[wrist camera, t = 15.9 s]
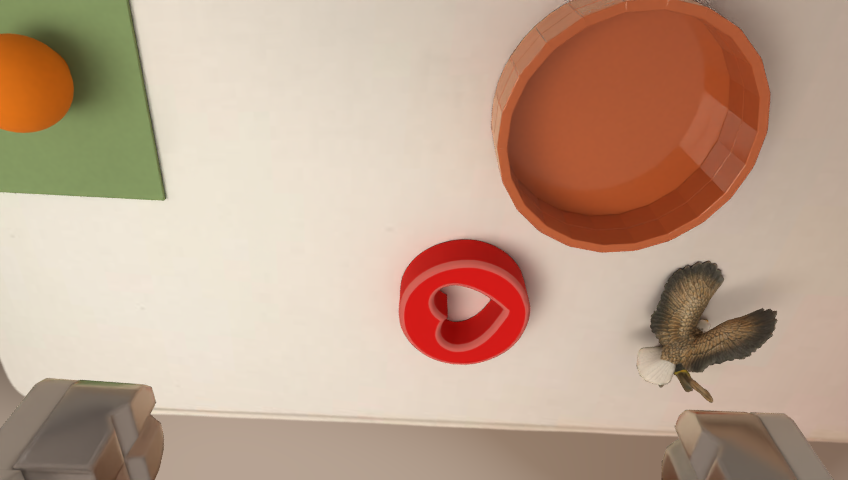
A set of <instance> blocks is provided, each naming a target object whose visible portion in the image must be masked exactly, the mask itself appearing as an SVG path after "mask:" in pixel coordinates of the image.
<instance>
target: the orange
mask: <svg viewBox="0 0 848 480" xmlns="http://www.w3.org/2000/svg"><path fill="white" fill-rule="evenodd" d="M73 96H74V86H73V80H72V76H71V73H70V69H69V67H68V65H67V63H66V61H65V60H64V59H63V58H62V57H61V56H60V55H59V54H58V53H57V52H55V51H54V50H52V49H51V48H50V47H48V46H47V45H46V44H44V43H42V42H40V41H38V40H36V39H34V38H31V37H28V36H24V35H19V34H10V33H7V34H0V129H3V130H6V131H11V132H17V133H30V132H37V131H41V130H44V129H47V128H49V127H51V126H53V125H54V124H56V123H57V122H58V121H60V120H61V119H62V118H63V117H64V116H65V115H66V113H67V112H68V110H69V108H70V106H71V103H72V100H73Z"/></svg>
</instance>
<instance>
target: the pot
mask: <svg viewBox="0 0 848 480" xmlns="http://www.w3.org/2000/svg"><path fill="white" fill-rule="evenodd" d="M769 107H770V90H769V86H768V82H767V78H766V74H765V70H764V66H763V62H762V59H761V57H760V56H759V54H758V53H757V51H756V50H755V49H754V47H753V46H752V44H751V43H750V41H749V40H748V39H747V37H746V36H745V34H744V33H743V31H742V30H741V29H740V28H739V27H737V26H736V25H734V24H733V23H731V22H730V21H728V20H727V19H725V18H724V17H722V16H721V15H719V14H718V13H716V12H715V11H713V10H712V9H710V8H709V7H706V6H704V5H702V4H700V3H698V2H696V1H694V0H573V1H570V2H568V3H566V4H565V5H563V6H561V7H560V8H558V9H557V10H555V11H554V12H552V13H550V14H549V15H548V16H547V17H545V18H544V19H543V20H542V21H541V22H539V23H538V24H537V25H536V26H535V27H534V28H533V29H532V30H531V31H530V32H529V33H528V34H527V35H526V36H525V37H524V38H523V40H522V41H521V42H520V44H519V45H518V46H517V48H516V49H515V50H514V52H513V53H512V55H511V57H510V58H509V60H508V62H507V64H506V65H505V67H504V70H503V72H502V74H501V77H500V79H499V81H498V85H497V88H496V92H495V96H494V101H493V108H492V121H491V129H492V135H493V141H494V147H495V153H496V158H497V162H498V166H499V170H500V174H501V178H502V181H503V184H504V186H505V188H506V190H507V192H508V193H509V195H510V197H511V199H512V201H513V203H514V205H515V207H516V209H517V210H518V211H519V212H520V213H521V214H522V215H523V216H524V217H525V218H526V219H527V220H528V221H529V222H530V223H531V224H532V225H533V226H534V227H535V228H536V229H537V230H539V231H540V232H541V233H543V234H545V235H547V236H549V237H551V238H553V239H555V240H557V241H559V242H561V243H563V244H565V245H567V246H570V247H575V248H580V249H586V250H591V251H596V252H620V251H635V250H640V249H643V248H646V247H650V246H653V245H657V244H660V243H664V242H667V241H670V240H672V239H674V238H676V237H678V236H679V235H681V234H683V233H685V232H687V231H689V230H690V229H692V228H694V227H696V226H698V225H699V224H701V223H703V222H704V221H705V220H707V219H708V218H709V217H710V216H711V215H712V214H713V213H715V212H716V211H717V210H718V209H719V208H720V207H721V206H723V205H724V204H725V203H726V202H727V201H728V200H729V199H731V197H732V196H733V195H734V193H735V192H736V191H737V189H738V188H739V187H740V185H741V184H742V182H743V181H744V180H745V178H746V177H747V175H748V174H749V173H750V171H751V170H752V168H753V166H754V165H755V162H756V160H757V157H758V155H759V152H760V149H761V147H762V144H763V142H764V139H765V136H766V134H767V130H768V120H769Z"/></svg>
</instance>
